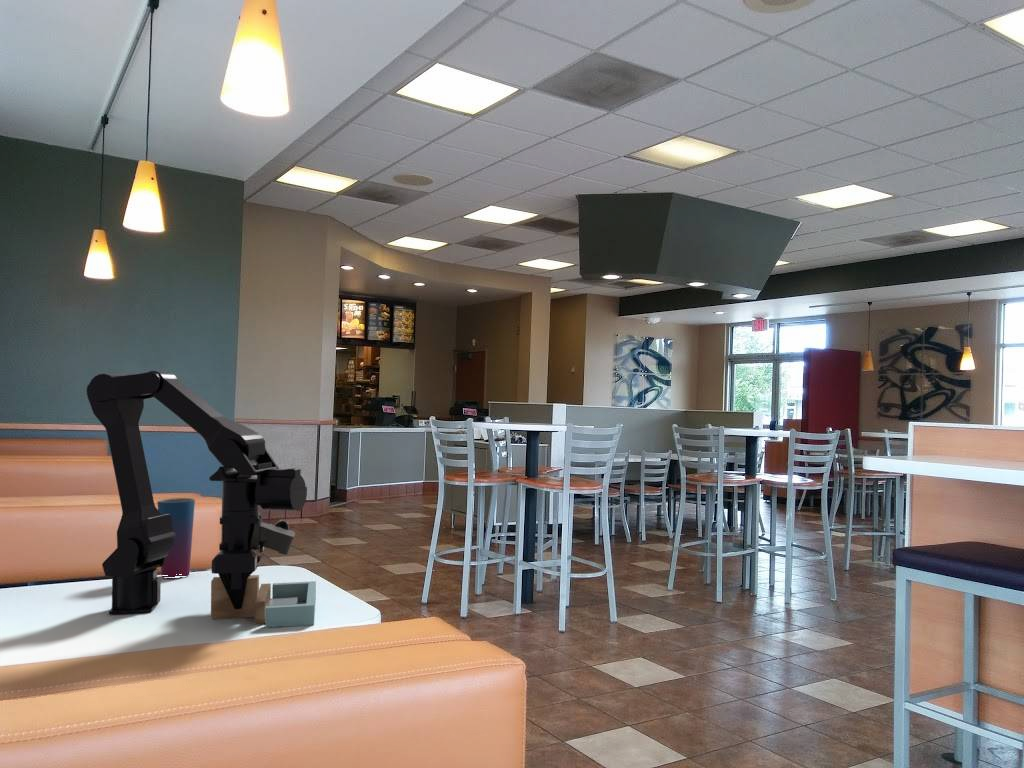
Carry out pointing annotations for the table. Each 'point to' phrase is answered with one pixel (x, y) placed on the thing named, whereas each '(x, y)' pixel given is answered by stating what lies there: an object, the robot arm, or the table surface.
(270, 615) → the teal corner frame
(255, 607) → the scraper
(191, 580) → the table surface
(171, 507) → the cup
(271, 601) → the tile slate
